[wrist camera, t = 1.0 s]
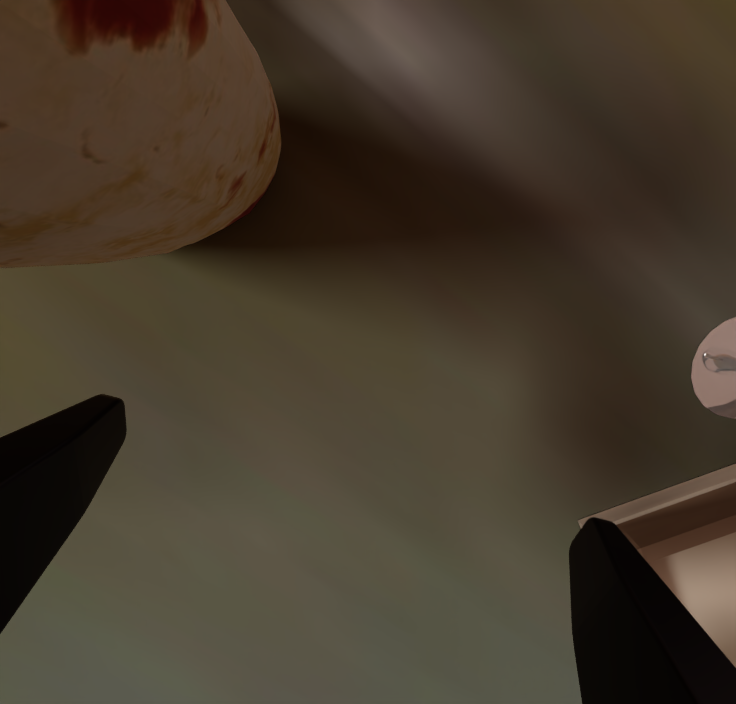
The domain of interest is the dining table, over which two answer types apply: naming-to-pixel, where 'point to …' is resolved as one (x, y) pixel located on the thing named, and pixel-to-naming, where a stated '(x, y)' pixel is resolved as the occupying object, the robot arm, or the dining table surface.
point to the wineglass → (717, 370)
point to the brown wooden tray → (690, 547)
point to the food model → (127, 128)
